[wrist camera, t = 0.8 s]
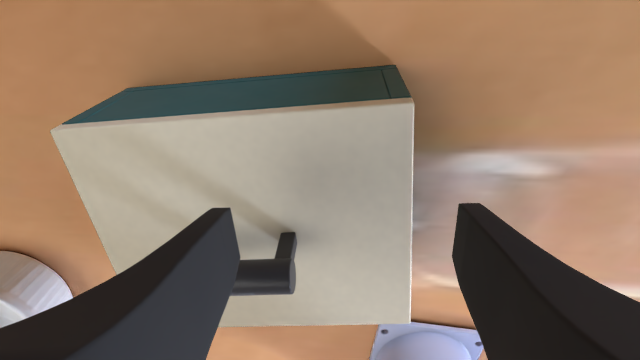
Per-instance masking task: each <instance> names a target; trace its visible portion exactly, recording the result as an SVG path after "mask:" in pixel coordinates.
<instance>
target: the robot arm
mask: <svg viewBox="0 0 640 360" xmlns="http://www.w3.org/2000/svg"><path fill="white" fill-rule="evenodd" d="M452 258H453V262H454V267H455V271H456V275H457V279H458V283H459V286H460V289H461V291H462V294H463V296H464V299H465V301H466V304H467V307H468V309H469V312H470V314H471V317H472V319H473V322H474V324H475V327H476V329H477V330H472V329H464V328H456V327H449V326H441V325H433V324H425V323H417V322H410V324H378V327H377V331H376V335H375V339H374V342H373V346H372V350H371V354H370V357H369V360H478V359H479V356H480V354H481V352H482V350H483V348H484V349H485V352H486V355H487V358H488V360H640V302H638V301H635V300H633V299H631V298H629V297H627V296H625V295H623V294H621V293H619V292H616V291H614V290H612V289H610V288H608V287H606V286H604V285H602V284H600V283H598V282H597V281H595V280H593V279H591V278H589V277H588V276H586V275H584V274H582V273H580V272H579V271H577V270H575V269H573V268H571V267H570V266H568V265H566V264H565V263H563V262H561V261H560V260H558V259H557V258H555V257H554V256H552V255H551V254H549V253H548V252H546V251H544V250H543V249H541V248H540V247H538V246H537V245H536V244H534V243H533V242H531V241H530V240H528V239H527V238H526V237H524V236H523V235H522V234H520V233H519V232H517V231H516V230H515V229H513V228H512V227H511V226H509V225H508V224H507V223H505V222H504V221H503V220H502V219H500V218H499V217H498V216H496V215H495V214H494V213H492V212H491V211H490V210H488V209H487V208H486V207H484V206H483V205H481V204H480V203H465V204H459V207H458V215H457V222H456V230H455V238H454V245H453V253H452ZM239 262H240V252H239V247H238V242H237V237H236V232H235V228H234V223H233V218H232V213H231V208H230V207H229V208H211V209H210V210H208V211H207V212H205V213H204V214H203V215H201V216H200V217H199V218H197V219H196V220H195V221H193V222H192V223H191V224H190V225H188V226H187V227H186V228H184V229H183V230H182V231H181V232H179V233H178V234H177V235H175V236H174V237H173V238H171V239H170V240H169V241H167V242H166V243H165V244H163V245H162V246H160V247H159V248H158V249H156V250H155V251H153V252H152V253H150V254H149V255H148V256H146V257H145V258H143V259H142V260H140V261H139V262H137V263H136V264H134V265H133V266H131V267H129V268H128V269H126V270H125V271H123V272H121V273H119V274H118V275H116V276H114V277H113V278H111V279H109V280H107V281H106V282H104V283H102V284H100V285H98V286H96V287H94V288H92V289H90V290H88V291H86V292H84V293H82V294H80V295H78V296H76V297H74V298H72V299H70V300H68V301H66V302H64V303H61V304H59V305H57V306H55V307H52V308H50V309H48V310H45V311H43V312H41V313H38V314H36V315H33V316H31V317H28V318H26V319H23V320H21V321H18V322H16V323H13V324H10V325H7V326H4V327H2V328H0V360H206V357H207V354H208V351H209V348H210V346H211V343H212V340H213V338H214V335H215V333H216V330H217V328H218V325H219V323H220V320H221V317H222V315H223V312H224V310H225V307H226V305H227V302H228V299H229V297H230V294H231V292H232V289H233V286H234V283H235V279H236V275H237V271H238V266H239ZM383 329H386V330H383Z"/></svg>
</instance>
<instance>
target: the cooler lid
mask: <svg viewBox="0 0 640 360" xmlns="http://www.w3.org/2000/svg"><path fill="white" fill-rule="evenodd" d="M50 133H51V135H52V137H53V139H54V141H55V143H56V145H57V148H58V150H59V152H60V154H61V156H62V158H63V160H64V163H65V165H66V167H67V169H68V171H69V173H70V176H71V178H72V180H73V182H74V184H75V186H76V188H77V191H78V193H79V195H80V197H81V199H82V201H83V204H84V206H85V208H86V210H87V212H88V214H89V216H90V219H91V221H92V223H93V225H94V227H95V229H96V231H97V234H98V236H99V238H100V240H101V242H102V244H103V247H104V249H105V251H106V253H107V255H108V257H109V259H110V262H111V264H112V266H113V268H114V270H115V272H116V275H118V274H119V273H121V272H123V271H125V270H126V269H128V268H129V267H131V266H133V265H134V264H136V263H137V262H139V261H140V260H142V259H143V258H145V257H146V256H148V255H149V254H150V253H152V252H153V251H155V250H156V249H158V248H159V247H160V246H162V245H163V244H165V243H166V242H167V241H169V240H170V239H171V238H173V237H174V236H175V235H177V234H178V233H179V232H181V231H182V230H183V229H184V228H186V227H187V226H188V225H190V224H191V223H192V222H193V221H195V220H196V219H197V218H199V217H200V216H201V215H203V214H204V213H205V212H207V211H208V210H210V209H211V208H229V207H230V208H231V213H232V218H233V223H234V228H235V232H236V237H237V242H238V247H239V252H240V262H239V266H238V271H237V275H236V279H235V283H234V286H233V289H232V292H231V294H230V297H229V299H228V302H227V305H226V307H225V310H224V312H223V315H222V317H221V320H220V323H219V325H218V327H253V326H309V325H364V324H410V322H411V267H412V210H413V152H414V102H413V100H412V98H410V97H409V98H396V99H384V100H371V101H358V102H345V103H333V104H320V105H307V106H294V107H282V108H269V109H256V110H243V111H230V112H218V113H205V114H192V115H179V116H167V117H154V118H141V119H128V120H116V121H103V122H90V123H77V124H64V125H59V126H57V127H55V128H53V129H52V130H50Z"/></svg>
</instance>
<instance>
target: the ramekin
mask: <svg viewBox="0 0 640 360" xmlns="http://www.w3.org/2000/svg"><path fill="white" fill-rule="evenodd" d="M72 298H73V296H72V293H71V291H70V289H69V287H68V286H67V284H66V283H65V281H64V280H63V279H62V278H61V277H60V276H59V275H58V274H57V273H56V272H55V271H53V270H52V269H51V268H49V267H48V266H46V265H45V264H43V263H41V262H40V261H38V260H36V259H34V258H31V257H29V256H26V255H23V254H19V253H15V252H9V251H0V328H2V327H4V326H7V325H10V324H13V323H16V322H18V321H21V320H23V319H26V318H28V317H31V316H33V315H36V314H38V313H41V312H43V311H45V310H48V309H50V308H52V307H55V306H57V305H59V304H61V303H64V302H66V301H68V300H70V299H72Z"/></svg>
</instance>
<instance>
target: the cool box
mask: <svg viewBox="0 0 640 360" xmlns="http://www.w3.org/2000/svg"><path fill="white" fill-rule="evenodd" d="M409 97H410V98H411V95H410V93H409V91H408V89H407V87H406V85H405V83H404V81H403V79H402V77H401V75H400V73H399V71H398V69H397V67H396V65H387V66H376V67H365V68H353V69H342V70H330V71H319V72H307V73H296V74H284V75H273V76H262V77H250V78H239V79H227V80H216V81H204V82H193V83H181V84H170V85H159V86H147V87H136V88H127V89H125V90H123V91H122V92H120V93H118V94H116V95H114V96H112V97H110V98H109V99H107V100H105V101H103V102H101V103H99V104H98V105H96V106H94V107H92V108H90V109H88V110H86V111H85V112H83V113H81V114H79V115H77V116H75V117H73V118H72V119H70V120H68V121H66V122H64V123H62V125H64V124H77V123H90V122H103V121H116V120H128V119H141V118H154V117H167V116H179V115H192V114H205V113H218V112H230V111H243V110H256V109H269V108H282V107H294V106H307V105H320V104H333V103H345V102H358V101H371V100H384V99H396V98H409Z"/></svg>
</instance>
